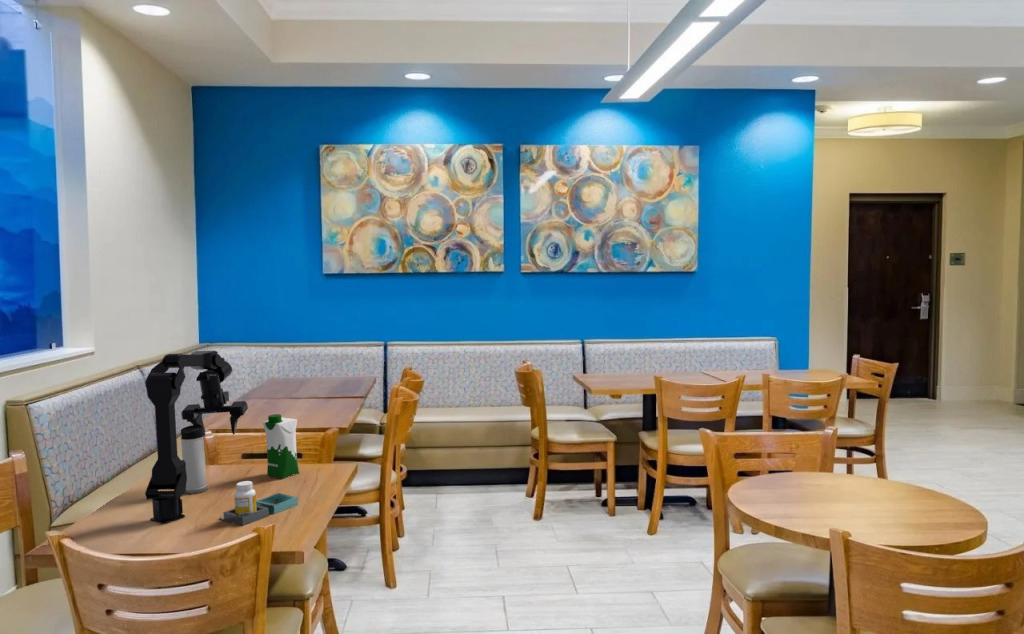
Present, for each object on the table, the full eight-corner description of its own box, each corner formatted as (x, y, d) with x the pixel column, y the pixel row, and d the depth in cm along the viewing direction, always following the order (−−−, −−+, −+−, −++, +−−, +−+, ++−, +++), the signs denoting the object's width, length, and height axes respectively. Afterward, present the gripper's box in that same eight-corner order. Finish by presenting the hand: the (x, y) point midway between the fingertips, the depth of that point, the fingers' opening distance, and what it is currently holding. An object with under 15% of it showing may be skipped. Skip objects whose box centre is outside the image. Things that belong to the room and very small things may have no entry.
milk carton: (263, 476, 235) (259, 415, 233) (285, 469, 242) (281, 410, 241) (281, 480, 230) (277, 418, 228) (303, 472, 238) (300, 412, 236)
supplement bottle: (250, 513, 200) (248, 478, 199) (261, 517, 197) (258, 482, 196) (232, 519, 196) (229, 483, 195) (242, 523, 193) (240, 487, 192)
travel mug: (211, 487, 225) (207, 423, 224) (200, 494, 219) (195, 428, 217) (192, 487, 226) (188, 424, 224) (180, 494, 219) (176, 429, 218)
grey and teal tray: (243, 525, 191) (242, 517, 190) (219, 519, 196) (218, 511, 196) (298, 504, 206) (297, 497, 206) (274, 499, 211) (274, 491, 211)
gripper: (248, 377, 233) (255, 421, 238) (189, 381, 232) (197, 425, 237) (238, 391, 223) (246, 437, 227) (176, 395, 221) (185, 441, 226)
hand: (219, 434), depth 230 cm, fingers open, 9 cm apart
